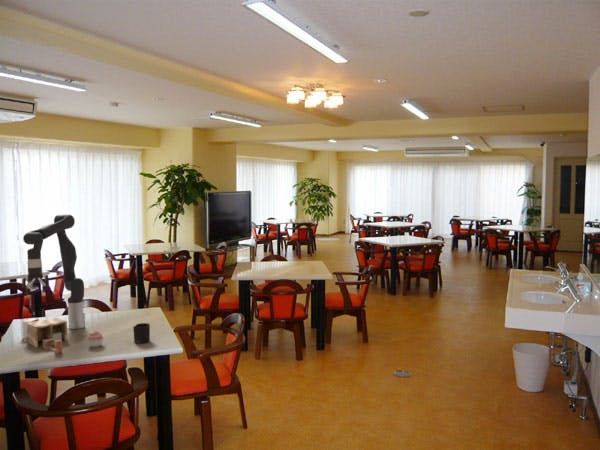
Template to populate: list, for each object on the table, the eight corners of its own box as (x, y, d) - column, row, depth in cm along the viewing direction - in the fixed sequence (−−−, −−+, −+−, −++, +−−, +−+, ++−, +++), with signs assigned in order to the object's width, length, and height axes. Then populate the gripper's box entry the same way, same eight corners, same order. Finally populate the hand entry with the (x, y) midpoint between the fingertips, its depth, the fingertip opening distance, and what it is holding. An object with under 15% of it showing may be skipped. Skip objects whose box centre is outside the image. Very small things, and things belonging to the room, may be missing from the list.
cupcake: (91, 343, 312) (90, 327, 311) (106, 343, 312) (106, 327, 311) (84, 348, 303) (83, 331, 302) (100, 348, 302) (99, 331, 302)
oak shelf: (58, 336, 328) (57, 317, 327) (67, 340, 318) (66, 321, 317) (27, 342, 315) (26, 322, 314) (36, 347, 306) (35, 327, 305)
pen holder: (131, 341, 316) (130, 325, 315) (146, 338, 322) (145, 322, 321) (137, 345, 308) (137, 328, 308) (152, 341, 314) (152, 325, 314)
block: (58, 339, 322) (58, 331, 322) (61, 340, 319) (61, 332, 318) (50, 340, 319) (49, 332, 318) (53, 342, 315) (52, 334, 315)
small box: (30, 338, 324) (30, 321, 323) (22, 338, 325) (22, 321, 324) (39, 334, 331) (38, 318, 331) (31, 334, 333) (31, 318, 332)
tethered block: (51, 346, 308) (51, 334, 307) (64, 352, 295) (63, 340, 295) (42, 348, 304) (42, 336, 304) (55, 355, 292) (54, 342, 291)
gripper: (45, 264, 318) (46, 290, 319) (19, 267, 308) (20, 294, 309) (49, 265, 313) (50, 292, 314) (23, 268, 303) (25, 296, 304)
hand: (36, 293), depth 312 cm, fingers open, 8 cm apart
